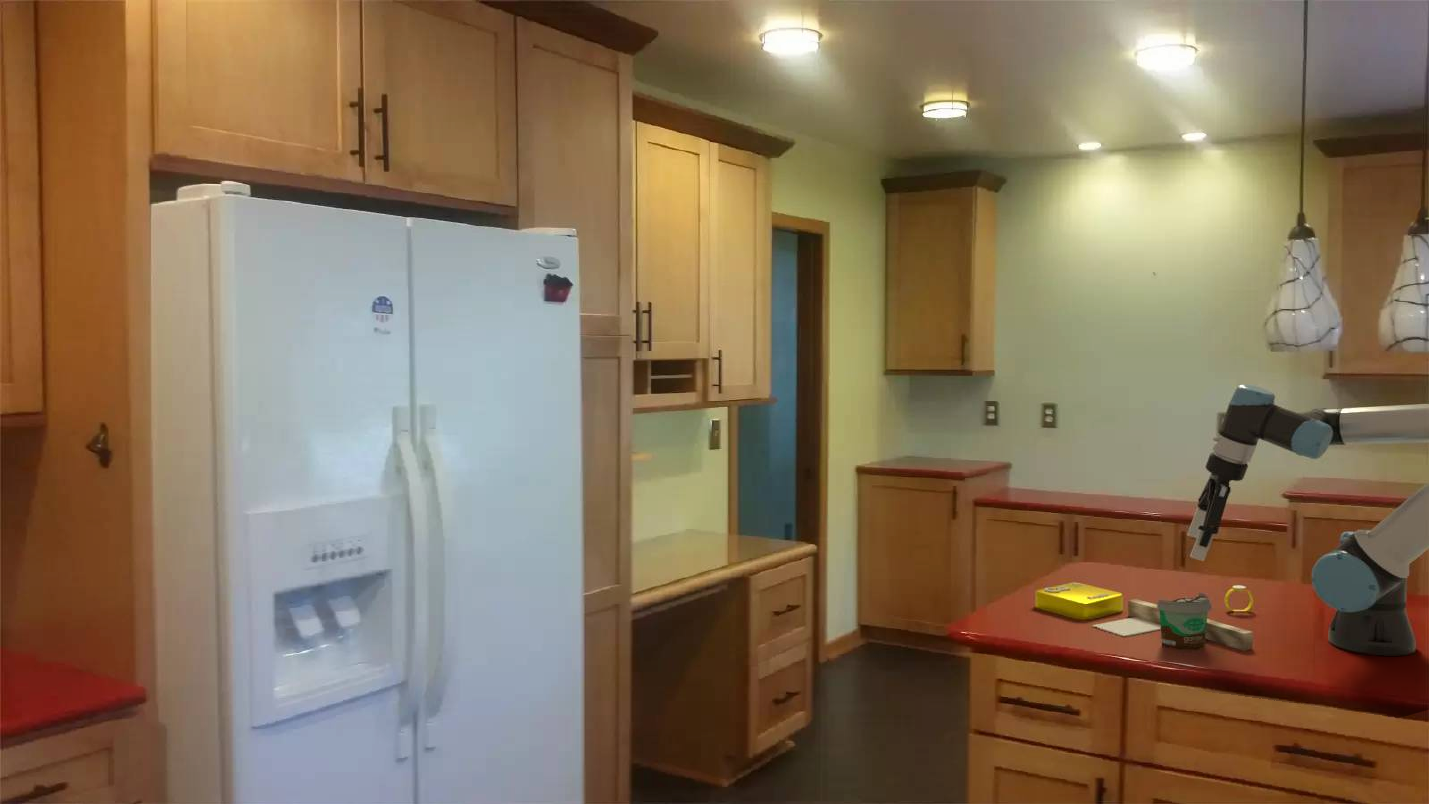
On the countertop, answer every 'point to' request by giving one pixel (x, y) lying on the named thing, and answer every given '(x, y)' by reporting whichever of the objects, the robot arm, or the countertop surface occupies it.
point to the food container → (1184, 622)
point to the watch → (1239, 588)
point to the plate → (1129, 626)
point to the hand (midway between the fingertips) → (1195, 547)
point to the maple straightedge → (1213, 629)
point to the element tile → (1079, 601)
